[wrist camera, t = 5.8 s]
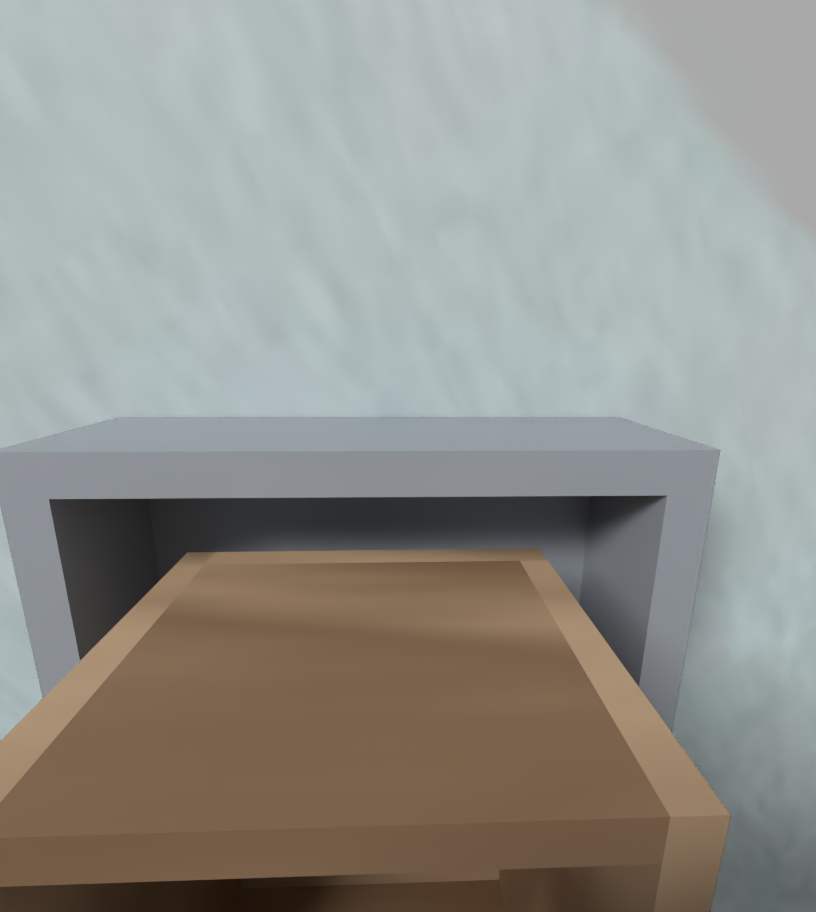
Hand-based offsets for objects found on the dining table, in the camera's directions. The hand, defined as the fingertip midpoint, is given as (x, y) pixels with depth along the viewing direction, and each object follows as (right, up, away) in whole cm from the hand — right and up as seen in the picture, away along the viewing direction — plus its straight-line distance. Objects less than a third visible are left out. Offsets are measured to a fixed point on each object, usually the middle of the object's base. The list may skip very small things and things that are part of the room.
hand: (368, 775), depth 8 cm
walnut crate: (0, 0, +1) cm, 1 cm away
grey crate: (0, +1, +4) cm, 4 cm away
